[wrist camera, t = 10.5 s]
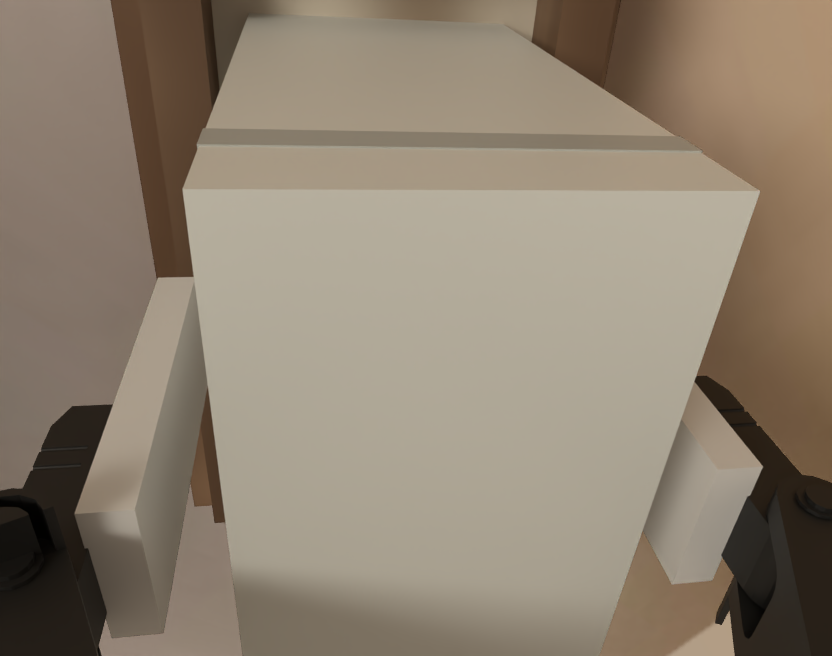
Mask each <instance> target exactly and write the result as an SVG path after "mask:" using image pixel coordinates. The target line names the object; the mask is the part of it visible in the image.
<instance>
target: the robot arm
mask: <svg viewBox="0 0 832 656" xmlns="http://www.w3.org/2000/svg"><path fill="white" fill-rule="evenodd" d="M207 386H208V383H207V375H206V368H205V360H204V352H203V344H202V337H201V329H200V321H199V313H198V306H197V298H196V290H195V282H194V277H165V278H158V279H157V282H156V285H155V288H154V291H153V293H152V296H151V299H150V302H149V305H148V308H147V310H146V313H145V316H144V319H143V322H142V324H141V327H140V330H139V333H138V336H137V339H136V341H135V344H134V347H133V350H132V353H131V355H130V358H129V361H128V364H127V367H126V370H125V372H124V375H123V378H122V381H121V384H120V387H119V389H118V392H117V395H116V398H115V401H114V403H113V405H92V406H72V407H71V408H70V409H69V410H68V411H67V412H66V413H65V414H64V415H63V416H62V417H60V418H59V419H58V420H57V421H56V422H55V423H54V424H53V425H52V426H51V428H50V430H49V432H48V434H47V437H46V439H45V441H44V443H43V445H42V448H41V452H39V454H38V456H37V459H36V461H35V463H34V465H33V471H31V472H30V474H29V476H28V478H27V480H26V483H25V485H24V487H23V489H14V488H12V489H7V490H2V491H0V656H102V655H101V652H100V649H99V642H100V638H101V634H102V630H103V626H104V623H105V619H106V620H107V624H108V627H109V630H110V634H111V637H112V638H120V637H130V636H140V635H151V634H161V633H164V628H165V622H166V617H167V611H168V605H169V600H170V594H171V589H172V583H173V577H174V572H175V566H176V560H177V555H178V549H179V544H180V538H181V532H182V527H183V521H184V515H185V510H186V504H187V499H188V493H189V487H190V482H191V476H192V470H193V465H194V459H195V453H196V448H197V442H198V437H199V431H200V425H201V420H202V414H203V408H204V403H205V397H206V392H207ZM643 532H644V534H645V536H646V537H647V539H648V541H649V543H650V545H651V547H652V548H653V550H654V552H655V554H656V556H657V558H658V560H659V561H660V563H661V565H662V567H663V569H664V571H665V573H666V574H667V576H668V578H669V580H670V582H671V584H682V583H692V582H703V581H712V580H713V577H714V575H715V573H716V571H717V568H718V566H719V564H720V562H721V559H722V557H723V559H724V560H725V562H726V564H727V565H728V567H729V568H730V570H731V571H732V573H733V575H734V577H733V580H732V582H731V584H730V586H729V588H728V590H727V592H726V594H725V597H724V599H723V601H722V603H721V605H720V607H719V609H718V611H717V615H716V621H715V623H717V624H720V625H722V623H723V621H724V619H725V617H726V615H727V613H728V612H729V611H730V617H731V625H732V627H731V628H732V635H733V644H734V652H735V656H832V483H830V482H828V481H825V480H822V479H819V478H816V477H813V476H806V475H801V473H800V472H799V471H798V470H797V469H796V468H795V466H794V465H793V464H792V463H791V462H790V461H789V460H788V458H787V457H786V456H785V455H784V454H783V453H782V451H781V450H780V449H779V448H778V447H777V446H776V445H775V443H774V442H773V441H772V440H771V439H770V438H769V436H768V435H767V434H766V433H765V432H764V431H763V429H762V428H761V427H760V426H757V425H756V421H755V420H754V419H753V418H752V417H751V416H750V414H749V413H748V412H744V407H743V406H742V405H741V404H740V403H739V402H738V401H737V399H736V398H735V397H734V396H733V395H732V394H731V392H730V391H729V390H727V389H726V388H724V387H723V386H721V385H720V384H718V383H717V382H715V381H714V380H712V379H711V378H709V377H708V376H696V378H695V381H694V384H693V387H692V390H691V392H690V395H689V398H688V401H687V404H686V407H685V410H684V413H683V416H682V418H681V421H680V424H679V427H678V430H677V433H676V436H675V439H674V441H673V444H672V447H671V450H670V453H669V456H668V459H667V462H666V465H665V467H664V470H663V473H662V476H661V479H660V482H659V485H658V488H657V491H656V493H655V496H654V499H653V502H652V505H651V508H650V511H649V514H648V516H647V519H646V522H645V525H644V528H643Z"/></svg>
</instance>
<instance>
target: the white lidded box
mask: <svg viewBox="0 0 832 656" xmlns="http://www.w3.org/2000/svg"><path fill="white" fill-rule="evenodd" d="M702 152H703V151H702V150H701V149H699V148H698V147H696V146H694V145H693V144H691V143H690V142H688V141H687V140H685V139H684V138H682V137H680V136H675V135H673V134H672V133H670V132H669V131H667V130H666V129H664V128H662V127H661V126H659V125H658V124H656V123H655V122H653V121H652V120H650V119H649V118H647V117H645V116H644V115H642V114H641V113H639V112H638V111H636V110H635V109H633V108H632V107H630V106H629V105H627V104H625V103H624V102H622V101H621V100H619V99H618V98H616V97H615V96H613V95H612V94H610V93H609V92H607V91H605V90H604V89H602V88H601V87H599V86H598V85H596V84H595V83H593V82H592V81H590V80H589V79H587V78H585V77H584V76H582V75H581V74H579V73H578V72H576V71H575V70H573V69H572V68H570V67H568V66H567V65H565V64H564V63H562V62H561V61H559V60H558V59H556V58H555V57H553V56H552V55H550V54H548V53H547V52H545V51H544V50H542V49H541V48H539V47H538V46H536V45H535V44H533V43H532V42H530V41H528V40H527V39H525V38H524V37H522V36H521V35H519V34H518V33H516V32H515V31H513V30H512V29H510V28H508V27H507V26H505V25H504V24H494V23H471V22H447V21H424V20H401V19H377V18H354V17H330V16H307V15H284V14H260V13H249V14H248V17H247V20H246V22H245V25H244V28H243V30H242V33H241V36H240V38H239V41H238V44H237V46H236V49H235V51H234V54H233V57H232V59H231V62H230V65H229V67H228V70H227V73H226V75H225V78H224V81H223V83H222V86H221V89H220V91H219V94H218V96H217V99H216V102H215V104H214V107H213V110H212V112H211V115H210V118H209V120H208V123H207V126H206V128H203V129H202V132H201V134H200V137H199V140H198V142H197V152H196V155H195V157H194V160H193V163H192V165H191V168H190V171H189V173H188V176H187V179H186V181H185V184H184V186H183V189H182V190H183V197H184V205H185V213H186V220H187V228H188V236H189V244H190V251H191V259H192V267H193V275H194V282H195V290H196V298H197V306H198V313H199V321H200V329H201V337H202V344H203V352H204V360H205V368H206V375H207V383H208V391H209V399H210V406H211V414H212V422H213V430H214V437H215V445H216V453H217V461H218V468H219V476H220V484H221V492H222V499H223V507H224V515H225V523H226V530H227V538H228V546H229V554H230V561H231V569H232V577H233V585H234V592H235V600H236V608H237V616H238V623H239V631H240V639H241V647H242V654H243V656H599V655H600V652H601V649H602V646H603V643H604V640H605V638H606V635H607V632H608V629H609V626H610V623H611V620H612V617H613V615H614V612H615V609H616V606H617V603H618V600H619V597H620V594H621V591H622V589H623V586H624V583H625V580H626V577H627V574H628V571H629V568H630V566H631V563H632V560H633V557H634V554H635V551H636V548H637V545H638V542H639V540H640V537H641V534H642V531H643V528H644V525H645V522H646V519H647V516H648V514H649V511H650V508H651V505H652V502H653V499H654V496H655V493H656V491H657V488H658V485H659V482H660V479H661V476H662V473H663V470H664V467H665V465H666V462H667V459H668V456H669V453H670V450H671V447H672V444H673V441H674V439H675V436H676V433H677V430H678V427H679V424H680V421H681V418H682V416H683V413H684V410H685V407H686V404H687V401H688V398H689V395H690V392H691V390H692V387H693V384H694V381H695V378H696V375H697V372H698V369H699V367H700V364H701V361H702V358H703V355H704V352H705V349H706V346H707V343H708V341H709V338H710V335H711V332H712V329H713V326H714V323H715V320H716V317H717V315H718V312H719V309H720V306H721V303H722V300H723V297H724V294H725V292H726V289H727V286H728V283H729V280H730V277H731V274H732V271H733V268H734V266H735V263H736V260H737V257H738V254H739V251H740V248H741V245H742V242H743V240H744V237H745V234H746V231H747V228H748V225H749V222H750V219H751V217H752V214H753V211H754V208H755V205H756V202H757V199H758V196H759V193H760V191H759V190H758V189H756V188H755V187H753V186H752V185H750V184H749V183H747V182H746V181H744V180H742V179H741V178H739V177H738V176H736V175H735V174H733V173H732V172H730V171H729V170H727V169H726V168H724V167H722V166H721V165H719V164H718V163H716V162H715V161H713V160H712V159H710V158H709V157H707V156H706V155H704V154H702Z"/></svg>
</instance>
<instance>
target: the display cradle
mask: <svg viewBox="0 0 832 656" xmlns="http://www.w3.org/2000/svg"><path fill="white" fill-rule="evenodd" d="M620 2H621V0H111V5H112V11H113V17H114V23H115V29H116V35H117V41H118V48H119V54H120V60H121V66H122V72H123V78H124V84H125V90H126V96H127V102H128V108H129V114H130V120H131V126H132V132H133V138H134V144H135V150H136V156H137V162H138V168H139V174H140V180H141V186H142V192H143V198H144V204H145V211H146V217H147V223H148V229H149V235H150V241H151V247H152V253H153V259H154V265H155V271H156V277H157V279H158V278H165V277H194V275H193V267H192V259H191V251H190V244H189V236H188V228H187V220H186V213H185V205H184V197H183V190H182V189H183V186H184V184H185V181H186V179H187V176H188V173H189V171H190V168H191V165H192V163H193V160H194V157H195V155H196V152H197V142H198V140H199V137H200V134H201V132H202V129H203V128H206V126H207V123H208V120H209V118H210V115H211V112H212V110H213V107H214V104H215V102H216V99H217V96H218V94H219V91H220V89H221V86H222V83H223V81H224V78H225V75H226V73H227V70H228V67H229V65H230V62H231V59H232V57H233V54H234V51H235V49H236V46H237V44H238V41H239V38H240V36H241V33H242V30H243V28H244V25H245V22H246V20H247V17H248V14H249V13H260V14H284V15H307V16H330V17H354V18H377V19H401V20H424V21H447V22H471V23H494V24H504V25H505V26H507V27H508V28H510V29H512V30H513V31H515V32H516V33H518V34H519V35H521V36H522V37H524V38H525V39H527V40H528V41H530V42H532V43H533V44H535V45H536V46H538V47H539V48H541V49H542V50H544V51H545V52H547V53H548V54H550V55H552V56H553V57H555V58H556V59H558V60H559V61H561V62H562V63H564V64H565V65H567V66H568V67H570V68H572V69H573V70H575V71H576V72H578V73H579V74H581V75H582V76H584V77H585V78H587V79H589V80H590V81H592V82H593V83H595V84H596V85H598V86H599V87H601V88H602V89H603V88H604V83H605V78H606V73H607V68H608V63H609V58H610V53H611V48H612V43H613V38H614V33H615V28H616V22H617V17H618V12H619V7H620ZM191 488H192V494H193V500H194V506H209V505H212V508H213V515H214V522H215V523H221V522H225V515H224V507H223V499H222V492H221V484H220V476H219V468H218V461H217V453H216V445H215V437H214V430H213V422H212V414H211V406H210V399H209V391H208V386H207V392H206V397H205V403H204V408H203V414H202V420H201V425H200V431H199V437H198V442H197V448H196V453H195V459H194V465H193V470H192V476H191Z"/></svg>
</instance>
